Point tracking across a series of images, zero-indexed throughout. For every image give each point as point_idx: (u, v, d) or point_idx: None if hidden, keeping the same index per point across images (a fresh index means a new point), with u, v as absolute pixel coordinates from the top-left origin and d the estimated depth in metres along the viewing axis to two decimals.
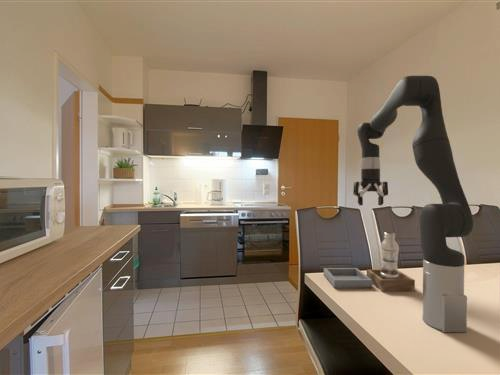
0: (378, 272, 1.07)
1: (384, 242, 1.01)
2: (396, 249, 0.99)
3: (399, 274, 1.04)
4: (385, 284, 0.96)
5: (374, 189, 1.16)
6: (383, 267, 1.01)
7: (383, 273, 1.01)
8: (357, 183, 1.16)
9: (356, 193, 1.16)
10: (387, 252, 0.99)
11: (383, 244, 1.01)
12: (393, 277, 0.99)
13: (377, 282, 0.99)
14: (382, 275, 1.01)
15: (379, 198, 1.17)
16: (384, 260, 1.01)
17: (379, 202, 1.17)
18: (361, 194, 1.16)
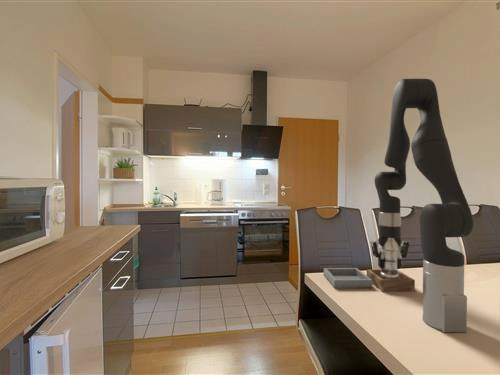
0: (378, 272, 1.07)
1: None
2: (396, 249, 0.99)
3: (399, 274, 1.04)
4: (385, 284, 0.96)
5: None
6: None
7: (383, 273, 1.01)
8: (375, 244, 1.00)
9: (376, 255, 1.01)
10: (387, 252, 0.99)
11: None
12: (393, 277, 0.99)
13: (377, 282, 0.99)
14: (382, 275, 1.01)
15: None
16: (384, 260, 1.01)
17: None
18: (382, 256, 1.01)
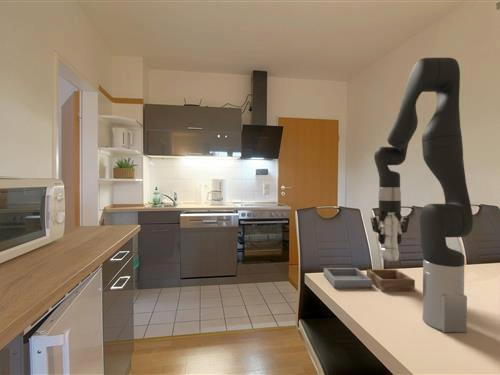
0: (378, 272, 1.07)
1: None
2: (396, 224, 0.98)
3: (399, 274, 1.04)
4: (385, 284, 0.96)
5: None
6: None
7: (383, 249, 1.00)
8: (375, 219, 1.00)
9: (377, 230, 1.00)
10: (387, 227, 0.99)
11: None
12: (393, 252, 0.98)
13: (377, 282, 0.99)
14: (382, 250, 1.01)
15: None
16: (384, 235, 1.00)
17: None
18: (382, 231, 1.00)
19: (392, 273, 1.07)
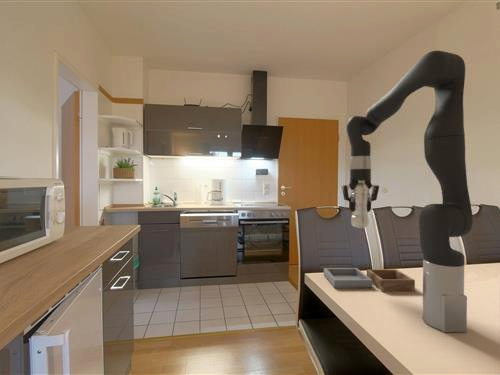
0: (378, 272, 1.07)
1: None
2: (365, 191, 1.01)
3: (399, 274, 1.04)
4: (385, 284, 0.96)
5: None
6: None
7: (353, 216, 1.04)
8: (345, 187, 1.03)
9: (347, 198, 1.03)
10: (357, 195, 1.02)
11: None
12: (362, 218, 1.01)
13: (377, 282, 0.99)
14: (352, 218, 1.04)
15: None
16: (354, 203, 1.03)
17: None
18: (352, 199, 1.03)
19: (392, 273, 1.07)
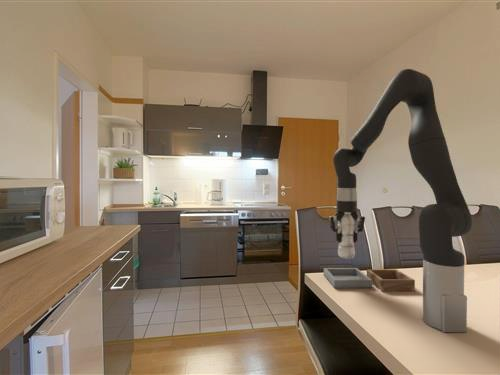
0: (378, 272, 1.07)
1: None
2: (351, 223, 1.02)
3: (399, 274, 1.04)
4: (385, 284, 0.96)
5: None
6: None
7: (340, 247, 1.05)
8: (332, 218, 1.04)
9: (333, 229, 1.04)
10: (343, 226, 1.03)
11: None
12: (348, 250, 1.03)
13: (377, 282, 0.99)
14: (339, 248, 1.05)
15: None
16: (341, 234, 1.05)
17: (353, 238, 1.06)
18: (339, 230, 1.04)
19: (392, 273, 1.07)
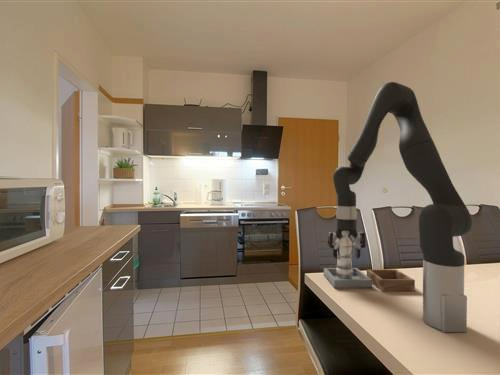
0: (378, 272, 1.07)
1: None
2: (349, 245, 1.02)
3: (399, 274, 1.04)
4: (385, 284, 0.96)
5: None
6: (338, 262, 1.05)
7: (338, 268, 1.05)
8: (331, 234, 1.04)
9: (330, 245, 1.04)
10: (341, 248, 1.03)
11: (338, 240, 1.05)
12: (346, 272, 1.03)
13: (377, 282, 0.99)
14: (337, 270, 1.05)
15: (356, 250, 1.06)
16: (339, 256, 1.05)
17: (356, 254, 1.06)
18: (335, 246, 1.04)
19: (392, 273, 1.07)
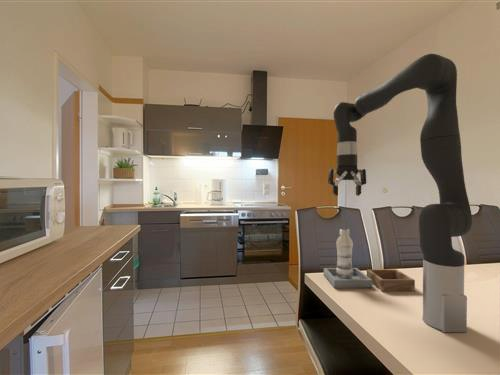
0: (378, 272, 1.07)
1: (339, 238, 1.05)
2: (349, 245, 1.02)
3: (399, 274, 1.04)
4: (385, 284, 0.96)
5: (351, 177, 1.04)
6: (338, 262, 1.05)
7: (338, 268, 1.05)
8: (332, 171, 1.04)
9: (331, 182, 1.04)
10: (341, 248, 1.03)
11: (338, 240, 1.05)
12: (346, 272, 1.03)
13: (377, 282, 0.99)
14: (337, 270, 1.05)
15: (356, 187, 1.05)
16: (339, 256, 1.05)
17: (356, 192, 1.05)
18: (336, 183, 1.04)
19: (392, 273, 1.07)
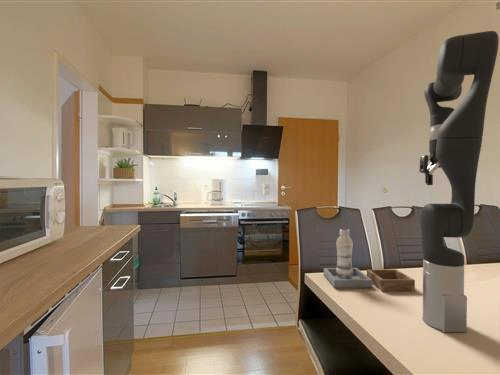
0: (378, 272, 1.07)
1: (339, 238, 1.05)
2: (349, 245, 1.02)
3: (399, 274, 1.04)
4: (385, 284, 0.96)
5: None
6: (338, 262, 1.05)
7: (338, 268, 1.05)
8: (426, 157, 0.92)
9: (425, 170, 0.92)
10: (341, 248, 1.03)
11: (338, 240, 1.05)
12: (346, 272, 1.03)
13: (377, 282, 0.99)
14: (337, 270, 1.05)
15: None
16: (339, 256, 1.05)
17: None
18: (431, 171, 0.92)
19: (392, 273, 1.07)
